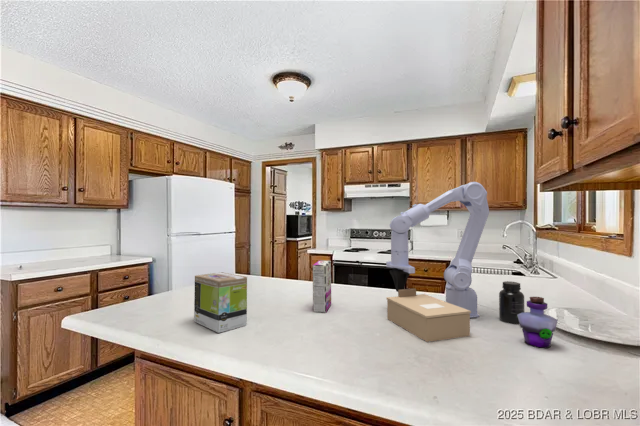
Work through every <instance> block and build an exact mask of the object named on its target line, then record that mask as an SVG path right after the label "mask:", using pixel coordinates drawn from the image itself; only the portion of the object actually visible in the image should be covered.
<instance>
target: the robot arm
mask: <svg viewBox="0 0 640 426" xmlns="http://www.w3.org/2000/svg"><path fill="white" fill-rule="evenodd" d="M487 196H488V192H487V190H486V188H485V187H484V186H483V184H481V183H480V182H477V181H470V182H468V183H466V184H462V185H460V186H458V187H455V188H453V189H452V188H451V189H449V190H447V191H446V192H444V193H442V194H441V195H439V196H437V197H435V198H434V199H433V200H431V201H429V202H428V203H426V204H423V203H418V204H416V203H415V204H413V205H411V206H412V207H411V208H409V209H407V210H406V211H401V212H400V213H399V214H400V215H397V216H395V217H393V218H392V219H391V221H390V223H389V228H390V230H391V231H390V232H391V234H390V236H391V238H390V261H386V263H385V264H386V268H390V269H391V270H389V274H390V276H391V277H392V280H393V284H394V288H395V291H396V292H397V293H398V290H402V289H406V288H405V287H406V283H407V282H408V279H409V277H410V275H411V274H416V268H415V266H412V265H410V264H409V235H408V234H409V233H408V232H409V230H410V228H413V227H416V226H417V225H419V224H420V223H422V222H424V221H426V220H428V219H429V218H430V214H431V213H432V212H435V211H436V210H438V209H441V208H442V207H443V206H445V205H447V204H450V203H452V202H453V203H454V202H460V203H461V204H462V205H464V206H465V207H466V209H467V211H468V212H469V216H468V220H467V223H466V225H465V228H464V231H463V234H462V236H461V240H460V241H459V245H458V248H457V251H456V253H455V255H454V258H453V259H452V260H451V261H450V263H449V265H448V267H447V268H446V269H444V272H443V278H444V281H446V284H445V302H448V303H450V304H453V305H456V306H458V307H461V308H464V309H467V310H469V311H471V313H469V314H470V319H471V318H473V319H474V318H479V317H480V314H478V295H477V291H475V289H474V288H472V287H471V286H472V281H473V280H472V279H473V278H472V273H473V266H472V265H473V264H472V262H473V259H474V257H475V253H476V251H477V248H478V245H479V244H480V243H479V242H480V239H481V238H482V237H481V236H482V234H483V231H484V228H485V226H486V223H487V219H488V217H489V214H490V209H489V203H488V197H487Z"/></svg>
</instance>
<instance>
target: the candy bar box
mask: <svg viewBox="0 0 640 426" xmlns="http://www.w3.org/2000/svg"><path fill="white" fill-rule="evenodd" d="M311 266H312V267H311V268H312V313H322V314H325V313H327V311H328V310H329V308H330V307H331V305H332V261H331V260H318V261H317V262H315V263H313V264H312V265H311Z"/></svg>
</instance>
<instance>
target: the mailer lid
mask: <svg viewBox="0 0 640 426" xmlns="http://www.w3.org/2000/svg"><path fill="white" fill-rule="evenodd" d="M385 298H386V300H389V301H391V302H393V303H395V304H397V305H399V306H401V307H404V308H406V309H408V310H410V311H412V312H414V313H416V314H418V315H420V316H422V317H425V318H435V317H443V316H452V315H460V314H469V313H471V311H469V310H467V309H464V308H461V307H458V306H456V305H453V304H450V303H448V302H446V300H445V301H444V300H441V299H439V298H437V297H433V296H432V295H431V296H430V295H428V294H425V293H421V294H417V288H404V289H402V290H398V292H397V295H396V296H389V297H385Z"/></svg>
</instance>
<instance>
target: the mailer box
mask: <svg viewBox="0 0 640 426" xmlns="http://www.w3.org/2000/svg"><path fill="white" fill-rule="evenodd" d="M386 300H387V299H386ZM386 304H387V305H386V307H387V308H386V309H387V312H386V313H387V315H386V316H387V318H386V319H387V320H389V321H390V322H392V323H394V324H395V325H397V326H399V327H400V328H402V329H404V330H405V331H407V332H409V333H411V334H412V335H414V336H416V337H418V338H419V339H421V340H422V339H423V340H422V341H424V340H425V341H424V342H426V343H429V341H431V342H437V340H438V341H444V339H445V340H450V339H451V338H452V339H456V338H457V339H458V338H464V337H470V336H471V318H470V314H460V315H452V316H443V317H435V318H425V317H422V316H420V315H418V314H416V313H414V312H412V311H410V310H408V309H406V308H404V307H401V306H399V305H397V304H395V303H393V302H391V301H389V300H387V303H386Z"/></svg>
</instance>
